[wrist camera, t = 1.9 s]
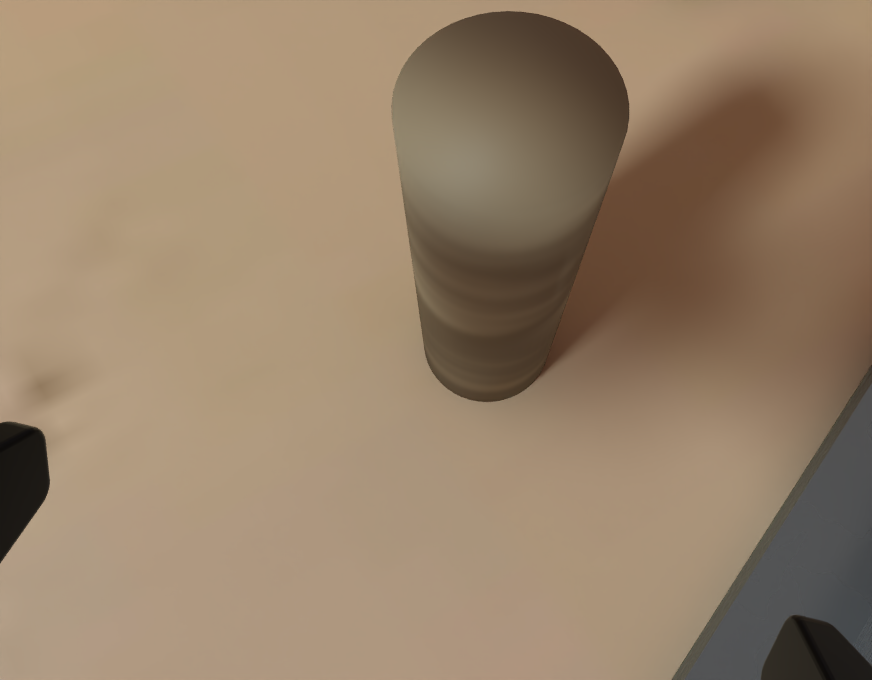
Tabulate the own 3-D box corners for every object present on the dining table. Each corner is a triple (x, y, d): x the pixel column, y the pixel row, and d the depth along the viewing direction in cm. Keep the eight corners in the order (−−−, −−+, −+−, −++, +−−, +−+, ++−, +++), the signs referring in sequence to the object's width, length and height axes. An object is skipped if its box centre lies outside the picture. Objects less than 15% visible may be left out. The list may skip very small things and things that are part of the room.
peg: (498, 427, 23) (536, 255, 11) (398, 352, 24) (342, 124, 12) (572, 331, 24) (676, 86, 12) (474, 262, 25) (486, -24, 13)
